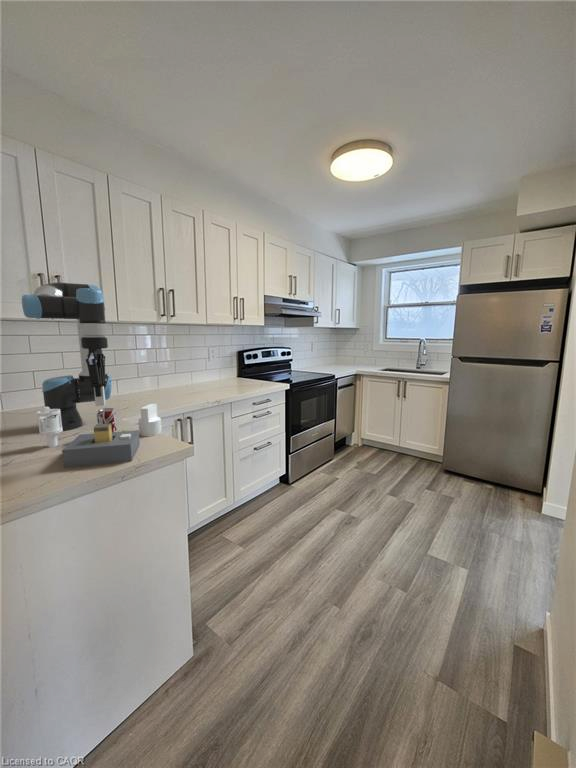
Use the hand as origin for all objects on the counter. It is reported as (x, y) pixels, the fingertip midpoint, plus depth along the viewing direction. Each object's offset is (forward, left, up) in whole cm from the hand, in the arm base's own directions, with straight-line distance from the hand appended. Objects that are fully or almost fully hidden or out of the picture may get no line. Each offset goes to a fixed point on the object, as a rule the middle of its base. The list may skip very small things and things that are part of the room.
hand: (100, 405), depth 108 cm
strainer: (-16, -22, -19) cm, 33 cm away
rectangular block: (0, 0, -17) cm, 17 cm away
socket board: (0, 0, -18) cm, 18 cm away
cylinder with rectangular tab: (-23, +12, -19) cm, 32 cm away
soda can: (-21, -4, -19) cm, 28 cm away
